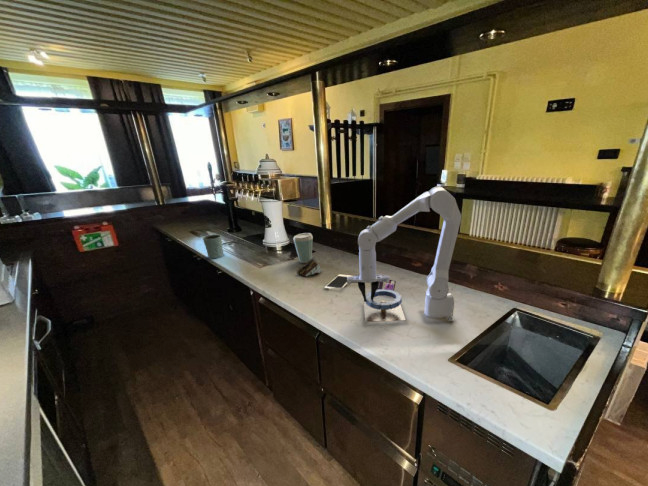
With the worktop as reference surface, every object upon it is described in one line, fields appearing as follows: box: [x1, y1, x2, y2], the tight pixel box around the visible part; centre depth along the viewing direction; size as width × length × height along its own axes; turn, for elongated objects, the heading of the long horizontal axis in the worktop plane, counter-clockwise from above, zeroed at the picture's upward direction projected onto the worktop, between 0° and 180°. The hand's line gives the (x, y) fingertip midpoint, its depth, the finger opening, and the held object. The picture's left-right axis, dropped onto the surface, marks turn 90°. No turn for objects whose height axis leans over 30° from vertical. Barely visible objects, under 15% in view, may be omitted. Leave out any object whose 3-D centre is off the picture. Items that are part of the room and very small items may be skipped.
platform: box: [363, 299, 406, 323], centre depth 110 cm, size 14×14×6 cm
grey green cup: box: [202, 234, 224, 259], centre depth 180 cm, size 10×10×12 cm
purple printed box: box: [377, 279, 397, 291], centre depth 126 cm, size 7×5×9 cm
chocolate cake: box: [295, 256, 322, 278], centre depth 150 cm, size 10×7×12 cm
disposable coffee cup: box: [293, 232, 314, 264], centre depth 164 cm, size 11×11×15 cm
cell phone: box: [324, 273, 353, 290], centre depth 138 cm, size 8×16×1 cm, turn 158°
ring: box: [365, 288, 403, 310], centre depth 108 cm, size 13×13×2 cm
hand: (368, 300), depth 108 cm, fingers closed on ring, 2 cm apart
